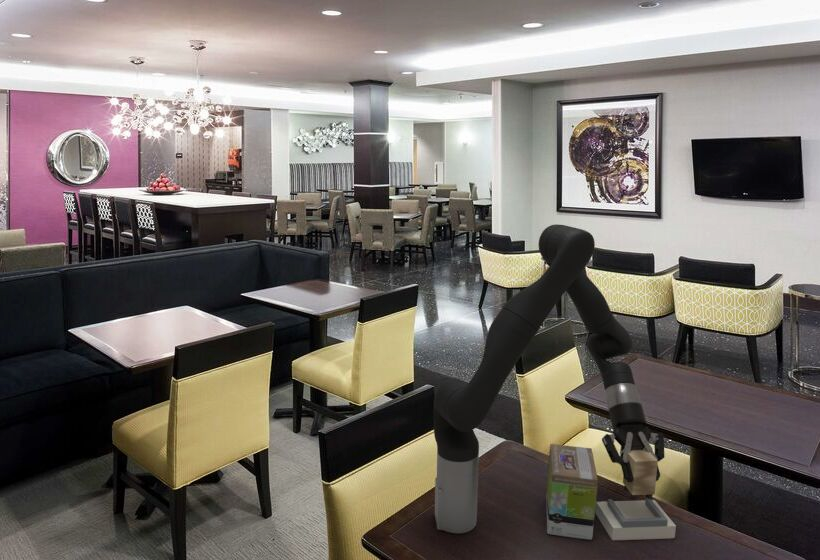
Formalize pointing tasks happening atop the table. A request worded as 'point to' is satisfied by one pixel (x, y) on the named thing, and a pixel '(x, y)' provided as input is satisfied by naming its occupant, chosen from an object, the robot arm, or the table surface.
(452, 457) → the robot arm
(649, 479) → the tall cardboard box
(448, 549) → the table surface
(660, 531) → the dock
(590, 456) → the tea box
